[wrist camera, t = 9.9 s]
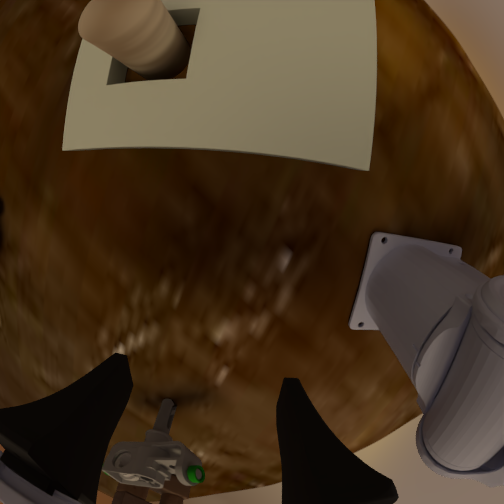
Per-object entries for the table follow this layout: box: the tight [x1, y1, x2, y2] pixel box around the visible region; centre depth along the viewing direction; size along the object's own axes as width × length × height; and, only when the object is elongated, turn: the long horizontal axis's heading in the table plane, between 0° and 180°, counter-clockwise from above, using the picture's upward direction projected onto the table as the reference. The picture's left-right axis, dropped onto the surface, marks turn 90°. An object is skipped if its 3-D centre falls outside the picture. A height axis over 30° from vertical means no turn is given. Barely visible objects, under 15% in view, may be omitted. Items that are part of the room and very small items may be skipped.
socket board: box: [62, 0, 377, 171], centre depth 14 cm, size 20×14×2 cm
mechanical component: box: [102, 399, 205, 488], centre depth 20 cm, size 3×10×10 cm, turn 112°
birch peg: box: [78, 0, 191, 81], centre depth 11 cm, size 4×4×8 cm
